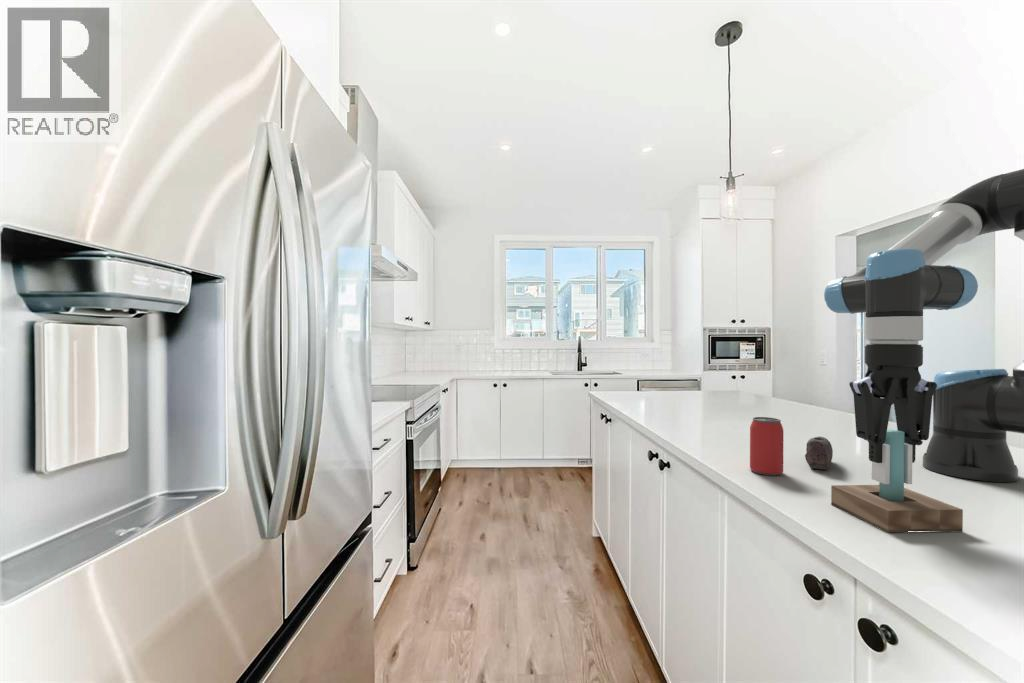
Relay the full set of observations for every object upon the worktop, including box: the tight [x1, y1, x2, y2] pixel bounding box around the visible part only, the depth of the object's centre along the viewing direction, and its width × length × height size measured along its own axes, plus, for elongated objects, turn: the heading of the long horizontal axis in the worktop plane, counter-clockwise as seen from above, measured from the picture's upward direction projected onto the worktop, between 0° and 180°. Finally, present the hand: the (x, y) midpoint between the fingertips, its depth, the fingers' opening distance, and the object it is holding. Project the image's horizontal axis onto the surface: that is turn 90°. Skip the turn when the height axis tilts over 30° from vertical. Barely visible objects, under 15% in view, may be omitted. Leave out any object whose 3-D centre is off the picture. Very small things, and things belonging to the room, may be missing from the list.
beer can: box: [749, 416, 784, 477], centre depth 103 cm, size 7×7×12 cm
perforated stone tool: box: [804, 436, 834, 470], centre depth 108 cm, size 15×5×7 cm, turn 141°
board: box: [830, 484, 964, 533], centre depth 77 cm, size 12×12×4 cm
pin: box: [878, 428, 905, 502], centre depth 77 cm, size 3×3×14 cm
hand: (891, 481), depth 77 cm, fingers closed on pin, 3 cm apart
